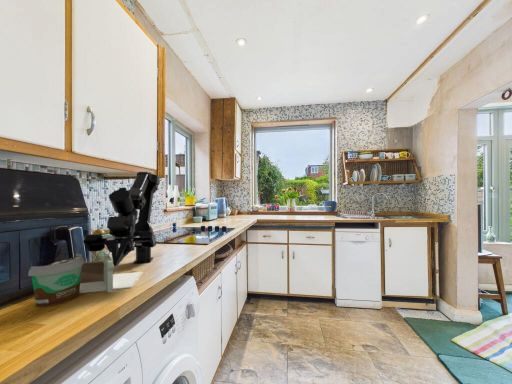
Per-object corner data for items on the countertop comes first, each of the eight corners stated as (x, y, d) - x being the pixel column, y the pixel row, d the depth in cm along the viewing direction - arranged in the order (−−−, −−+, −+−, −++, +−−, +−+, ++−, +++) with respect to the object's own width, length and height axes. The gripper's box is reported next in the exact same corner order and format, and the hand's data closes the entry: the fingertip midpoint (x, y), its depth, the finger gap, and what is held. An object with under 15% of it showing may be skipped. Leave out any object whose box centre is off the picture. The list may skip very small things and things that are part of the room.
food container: (49, 312, 53) (48, 268, 53) (28, 309, 54) (27, 267, 54) (96, 289, 65) (96, 254, 65) (78, 287, 66) (78, 252, 66)
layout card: (85, 277, 77) (85, 276, 77) (142, 272, 81) (142, 271, 81) (59, 295, 62) (59, 293, 62) (131, 288, 67) (131, 286, 67)
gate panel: (108, 279, 72) (108, 253, 73) (113, 291, 63) (113, 261, 63) (103, 280, 72) (103, 254, 72) (107, 292, 62) (107, 262, 62)
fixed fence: (79, 282, 72) (79, 255, 72) (108, 279, 73) (108, 253, 74) (76, 284, 70) (77, 256, 70) (106, 281, 72) (106, 254, 72)
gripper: (85, 207, 69) (65, 253, 58) (152, 205, 74) (145, 247, 63) (96, 230, 77) (81, 274, 66) (157, 227, 81) (151, 268, 71)
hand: (114, 265), depth 66 cm, fingers closed
